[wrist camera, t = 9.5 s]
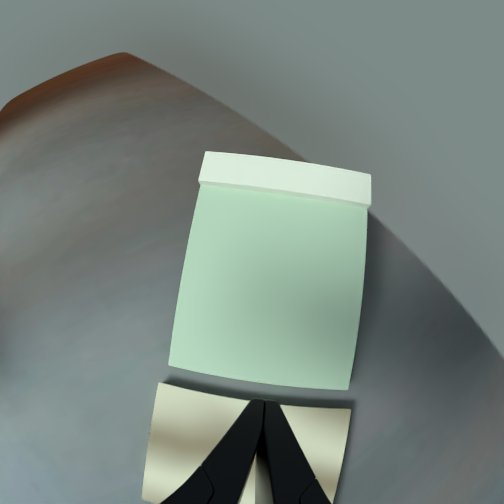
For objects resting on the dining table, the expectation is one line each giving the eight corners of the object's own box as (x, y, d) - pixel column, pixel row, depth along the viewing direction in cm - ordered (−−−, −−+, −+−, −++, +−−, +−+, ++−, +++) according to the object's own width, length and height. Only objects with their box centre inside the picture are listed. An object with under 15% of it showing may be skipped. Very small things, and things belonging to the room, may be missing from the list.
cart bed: (323, 521, 13) (326, 525, 12) (145, 495, 13) (141, 498, 13) (347, 408, 17) (351, 409, 16) (162, 382, 18) (158, 382, 17)
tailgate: (351, 393, 16) (370, 174, 19) (164, 367, 16) (205, 151, 20) (343, 386, 18) (363, 184, 21) (172, 362, 18) (209, 163, 21)
